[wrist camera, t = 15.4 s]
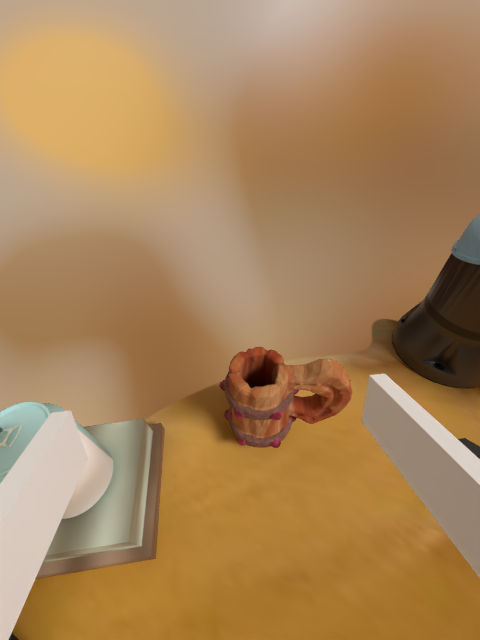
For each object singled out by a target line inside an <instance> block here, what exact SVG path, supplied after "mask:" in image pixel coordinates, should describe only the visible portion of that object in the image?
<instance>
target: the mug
mask: <svg viewBox="0 0 480 640" xmlns="http://www.w3.org/2000/svg"><path fill="white" fill-rule="evenodd" d="M350 381H351V380H350V379H349V376H348V374H347V372H346V371H345V369H344V368H343V367H342V366H341V365H340V364H339V363H338V362H337V361H334V360H331V359H319V360H316V361H313V362H311V363H308V364H305V365H285V364H284V363H283V357H282V356H281V355H280V354H278V353H277V352H276V351H274V350H269V351H267V350H265V349H264V348H263V347H256V348H253V349H248V350H247V352H239V353H238V354H237V355H236V356H235V357H234V358H233V359H232V361H231V363H230V366H229V372H228V374H227V376H226V379H225V380H223V381H222V382H221V383H220V388H221V389H222V390H223V391H225V393H226V397H227V400H228V403H229V404H230V409H228V410H226V411H225V417H226V418H227V419H229V421H230V424H231V427H232V430H233V432H234V433H235V435H236V436H237V437H238V443H239V444H240V445H245V444H247V445H250V446H253V447H269V446H272V447H274V448H278V447H279V446H280V444H281V440H283V439H284V438H285V436H286V435H287V433H288V432H289V430H290V428H291V424H292V422H294V421H295V420H296V418H300V419H302V420H303V421H305V422H307V423H310V424H314V423H316V422H318V421H321V420H324V419H326V418H329V417H331V416H334V415H336V414H337V413H339V412H340V411H341V410H342V409H344V408H345V406H346V405H347V404H348V402H349V401H350V400H351V395H352V389H351V385H350ZM299 390H308V391H311V392H313V393H316V394H315V395H313V396H308V397H298V396H294V395H295V394H296V393H297V392H298V391H299Z"/></svg>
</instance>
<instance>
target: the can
mask: <svg viewBox="0 0 480 640" xmlns="http://www.w3.org/2000/svg"><path fill="white" fill-rule="evenodd" d="M63 411H65V410H63V409H62V408H61V407H59V406H57V405H54V404H49V403H39V402H34V401H28V402H22V403H18V404H15V405H13V406H10V407H8V408H6V409H4V410H2V411H0V484H1V482H2V481H3V479H4V478H5V477H6V475H7V474H8V472H9V471H10V470H11V468H12V467H13V465H14V464H15V463H16V461H17V460H18V458H19V457H20V456H21V454H22V453H23V451H24V450H25V449H26V447H27V446H28V444H29V443H30V442H31V440H32V439H33V437H34V436H35V435H36V433H37V432H38V430H39V429H40V428H41V426H42V425H43V423H44V422H45V421H46V419H47V418H48V416H49V415H50V414H51V413H54V412H63ZM74 421H75V423H76V426H77V429H78V432H79V435H80V438H81V440H82V443H83V446H84V449H85V452H86V454H87V457H88V460H87V462H86V465H85V467H84V469H83V471H82V474H81V476H80V478H79V480H78V483H77V485H76V487H75V490H74V492H73V494H72V496H71V499H70V501H69V503H68V506H67V508H66V510H65V512H64V515H63V517H62V519H66V518H72V517H75V516H78V515H80V514H82V513H84V512H85V511H87V510H88V509H90V508H91V507H92V506H93V505H94V504H95V503H96V502H97V501H98V500H99V499H100V498H101V497H102V495H103V494H104V492H105V491H106V489H107V487H108V485H109V483H110V481H111V478H112V474H113V459H112V456H111V454H110V452H109V451H108V449H106V448H105V447H104V446H103V445H102V444H101V443H100V442H99V441H98V440H97V439H95V438H94V437H93V436H92V435H91V434H90V433H89V432H88V431H87V430H86V429H84V428H83V427H82V426H81V425H80V424H79V423H78V422H77V421H76V420H75V419H74Z"/></svg>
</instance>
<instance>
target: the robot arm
mask: <svg viewBox="0 0 480 640" xmlns="http://www.w3.org/2000/svg"><path fill="white" fill-rule="evenodd" d="M451 251H452V253H451V255H450V257H449V258H448V260H447V262H446V263H445V265H444V267H443V268H442V270H441V272H440V273H439V275H438V277H437V278H436V280H435V282H434V283H433V285H432V287H431V288H430V290H429V292H428V294H427V296H426V297H425V299H424V300H422V301H421V302H420V303H419V304H417V305H416V306H415V307H414V308H412V309H411V310H410V311H409V312H407V313H406V314H405V315H404V316H402V317H401V319H400V320H399V321H398V323H397V325H396V327H395V329H394V331H393V335H392V340H393V345H394V347H395V350H396V351H397V353H398V355H399V356H400V357H401V359H402V360H403V361H404V362H405V363H406V364H407V365H408V366H409V367H411V368H412V369H413V370H414V371H416V372H417V373H419V374H420V375H422V376H424V377H426V378H428V379H430V380H432V381H434V382H437V383H440V384H443V385H446V386H451V387H457V388H474V387H479V386H480V215H478V216H477V217H475V218H474V219H473V220H472V221H471V222H470V224H469V225H468V226H467V228H466V229H465V231H464V232H463V234H462V236H461V237H460V239H459V240H457V242H455V244H454V245H453V247H452V250H451ZM361 421H362V423H363V424H364V425H365V427H366V428H367V429H368V431H369V432H370V433H371V435H372V436H373V437H374V439H375V440H376V441H377V443H378V444H379V445H380V447H381V448H382V449H383V451H384V452H385V453H386V455H387V456H388V457H389V459H390V460H391V461H392V463H393V464H394V465H395V466H396V468H397V469H398V470H399V472H400V473H401V474H402V476H403V477H404V478H405V480H406V481H407V482H408V484H409V485H410V486H411V488H412V489H413V490H414V492H415V493H416V494H417V496H418V497H419V498H420V500H421V501H422V502H423V504H424V505H425V506H426V508H427V509H428V510H429V512H430V513H431V514H432V516H433V517H434V518H435V520H436V521H437V522H438V524H439V525H440V526H441V528H442V529H443V530H444V531H445V533H446V534H447V535H448V537H449V538H450V539H451V541H452V542H453V543H454V545H455V546H456V547H457V549H458V550H459V551H460V553H461V554H462V555H463V557H464V558H465V559H466V561H467V562H468V563H469V565H470V566H471V567H472V569H473V570H474V571H475V573H476V574H477V575H478V577H479V578H480V447H479V446H478V445H476V444H474V443H472V442H471V441H469V440H467V439H466V438H463V439H457V438H456V437H454V436H453V435H452V434H451V433H450V432H449V431H448V430H447V429H446V428H445V427H443V426H442V425H441V424H440V423H439V422H438V421H437V420H436V419H435V418H433V417H432V416H431V415H430V414H429V413H428V412H427V411H426V410H425V409H423V408H422V407H421V406H420V405H419V404H418V403H417V402H416V401H415V400H414V399H412V398H411V397H410V396H409V395H408V394H407V393H406V392H405V391H404V390H402V389H401V388H400V387H399V386H398V385H397V384H396V383H395V382H394V381H392V380H391V379H390V378H389V377H388V376H387V375H386V374H376V375H369V381H368V386H367V392H366V398H365V403H364V409H363V415H362V420H361ZM87 460H88V457H87V454H86V452H85V449H84V446H83V443H82V440H81V438H80V435H79V432H78V429H77V426H76V423H75V421H74V418H73V415H72V412H71V411H63V412H54V413H51V414H50V415H49V416H48V418H47V419H46V421H45V422H44V423H43V425H42V426H41V428H40V429H39V430H38V432H37V433H36V435H35V436H34V437H33V439H32V440H31V442H30V443H29V444H28V446H27V447H26V449H25V450H24V451H23V453H22V454H21V456H20V457H19V458H18V460H17V461H16V463H15V464H14V465H13V467H12V468H11V470H10V471H9V472H8V474H7V475H6V477H5V478H4V479H3V481H2V482H1V484H0V640H9V638H10V635H11V633H12V631H13V629H14V626H15V624H16V622H17V620H18V617H19V615H20V613H21V610H22V608H23V606H24V604H25V601H26V599H27V597H28V594H29V592H30V590H31V588H32V585H33V583H34V581H35V578H36V576H37V574H38V572H39V569H40V567H41V565H42V563H43V560H44V558H45V556H46V553H47V551H48V549H49V547H50V544H51V542H52V540H53V537H54V535H55V533H56V531H57V528H58V526H59V524H60V522H61V519H62V517H63V515H64V512H65V510H66V508H67V506H68V503H69V501H70V499H71V496H72V494H73V492H74V490H75V487H76V485H77V483H78V480H79V478H80V476H81V474H82V471H83V469H84V467H85V465H86V462H87Z"/></svg>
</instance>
